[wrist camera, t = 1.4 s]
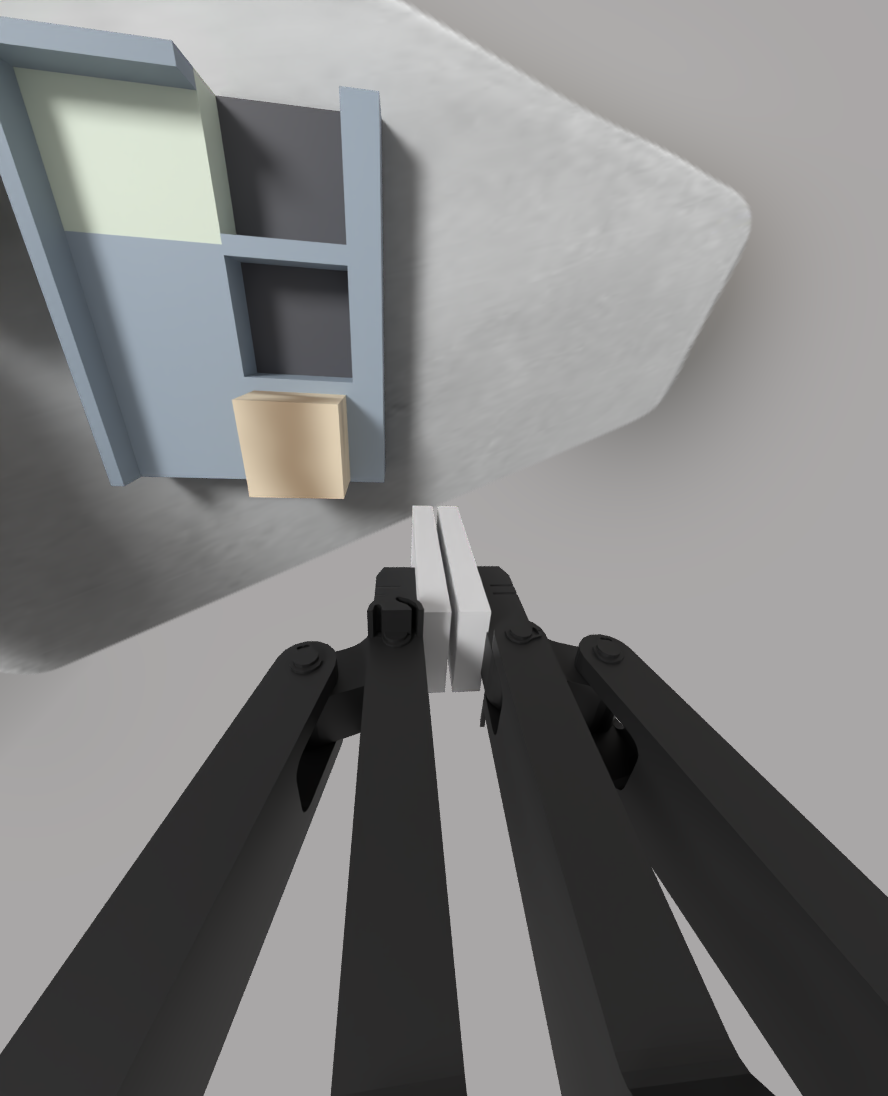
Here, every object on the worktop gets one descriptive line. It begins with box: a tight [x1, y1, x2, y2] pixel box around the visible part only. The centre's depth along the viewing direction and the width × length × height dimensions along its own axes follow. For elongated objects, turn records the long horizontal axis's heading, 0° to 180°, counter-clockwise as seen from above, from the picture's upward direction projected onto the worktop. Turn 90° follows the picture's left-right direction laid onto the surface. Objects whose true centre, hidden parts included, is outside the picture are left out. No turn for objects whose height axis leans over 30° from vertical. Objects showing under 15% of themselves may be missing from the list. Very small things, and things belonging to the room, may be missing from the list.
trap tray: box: [0, 16, 385, 486], centre depth 25 cm, size 18×21×5 cm
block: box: [232, 390, 350, 499], centre depth 27 cm, size 6×6×4 cm
